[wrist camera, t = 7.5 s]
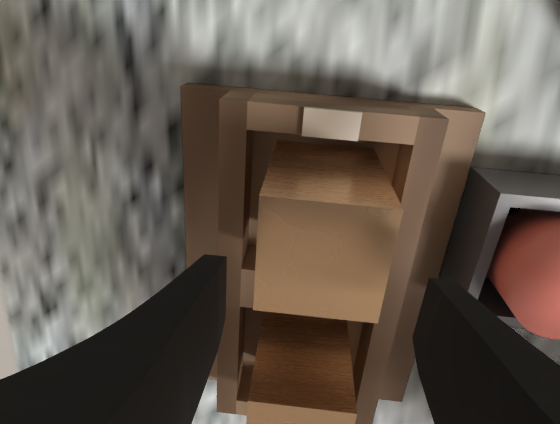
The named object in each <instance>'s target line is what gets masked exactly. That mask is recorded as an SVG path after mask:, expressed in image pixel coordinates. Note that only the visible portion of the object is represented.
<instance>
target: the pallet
mask: <svg viewBox="0 0 560 424" xmlns="http://www.w3.org/2000/svg"><path fill="white" fill-rule="evenodd" d="M485 114H486V113H485V112H483V111H481V110H479V109H477V108H469V107H457V106H446V105H434V104H423V103H411V102H400V101H389V100H377V99H366V98H354V97H343V96H331V95H320V94H308V93H297V92H286V91H274V90H263V89H251V88H240V87H228V86H217V85H205V84H194V83H186V84H184V85H182V86H181V117H182V147H183V178H184V209H185V240H186V269H187V268H188V267H189V266H191V265H192V264H193V263H194V262H195V261H197V260H198V259H199V258H200V257H202V256H203V255H204V254H208V255H218V256H227V278H226V318H225V323H224V327H223V332H222V336H221V340H220V344H219V348H218V352H217V355H216V358H215V360H214V363H213V366H212V369H211V371H210V374H209V377H208V379H211V380H217V412H223V413H231V414H239V415H247V406H248V397H249V391H250V386H251V380H252V374H253V369H254V363H255V357H256V352H257V346H258V340H259V335H260V329H261V323H262V318H263V312H264V311H257V310H253V301H254V282H255V263H256V245H257V226H258V207H259V195H260V191H261V188H262V185H263V182H264V179H265V176H266V173H267V170H268V167H269V164H270V160H271V157H272V154H273V151H274V148H275V145H276V142H277V140H284V141H294V142H305V143H316V144H327V145H338V146H349V147H360V148H371V149H374V150H375V152H376V154H377V156H378V158H379V160H380V162H381V164H382V166H383V168H384V170H385V172H386V174H387V177H388V179H389V181H390V183H391V185H392V187H393V189H394V191H395V193H396V195H397V197H398V199H399V201H400V203H401V206H402V208H403V214H402V219H401V223H400V228H399V232H398V237H397V241H396V245H395V250H394V254H393V259H392V263H391V268H390V272H389V277H388V281H387V285H386V290H385V294H384V299H383V303H382V308H381V312H380V317H379V321H378V324H377V323H368V322H359V321H350V320H347V326H348V335H349V344H350V353H351V362H352V371H353V380H354V390H355V399H356V408H357V417H356V421H355V424H372V422H373V418H374V414H375V410H376V407H377V403H378V399H383V400H392V401H400V402H402V400H403V396H404V393H405V389H406V386H407V382H408V379H409V376H410V372H411V369H412V365H413V362H414V358H415V352H414V345H413V339H412V337H413V333H414V329H415V326H416V322H417V319H418V315H419V312H420V308H421V304H422V301H423V297H424V294H425V290H426V286H427V283H428V279H429V278H438V276H439V272H440V269H441V265H442V262H443V259H444V255H445V252H446V248H447V245H448V241H449V238H450V234H451V231H452V228H453V224H454V221H455V217H456V214H457V210H458V207H459V203H460V200H461V197H462V193H463V190H464V186H465V183H466V179H467V176H468V173H469V169H470V166H471V162H472V159H473V155H474V152H475V148H476V145H477V142H478V138H479V135H480V131H481V128H482V124H483V121H484V117H485Z"/></svg>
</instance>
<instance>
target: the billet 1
mask: <svg viewBox="0 0 560 424" xmlns="http://www.w3.org/2000/svg"><path fill="white" fill-rule="evenodd" d="M402 214H403V208H402V206H401V203H400V201H399V199H398V197H397V195H396V193H395V191H394V189H393V187H392V185H391V183H390V181H389V179H388V177H387V174H386V172H385V170H384V168H383V166H382V164H381V162H380V160H379V158H378V156H377V154H376V152H375V150H374V149H371V148H360V147H349V146H338V145H327V144H316V143H305V142H294V141H284V140H277V142H276V145H275V148H274V151H273V154H272V157H271V160H270V164H269V167H268V170H267V173H266V176H265V179H264V182H263V185H262V188H261V191H260V195H259V207H258V226H257V245H256V263H255V282H254V301H253V310H257V311H266V312H276V313H285V314H294V315H303V316H313V317H322V318H331V319H340V320H350V321H359V322H368V323H377V324H378V321H379V317H380V312H381V308H382V303H383V299H384V294H385V290H386V285H387V281H388V277H389V272H390V268H391V263H392V259H393V254H394V250H395V245H396V241H397V237H398V232H399V228H400V223H401V219H402Z"/></svg>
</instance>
